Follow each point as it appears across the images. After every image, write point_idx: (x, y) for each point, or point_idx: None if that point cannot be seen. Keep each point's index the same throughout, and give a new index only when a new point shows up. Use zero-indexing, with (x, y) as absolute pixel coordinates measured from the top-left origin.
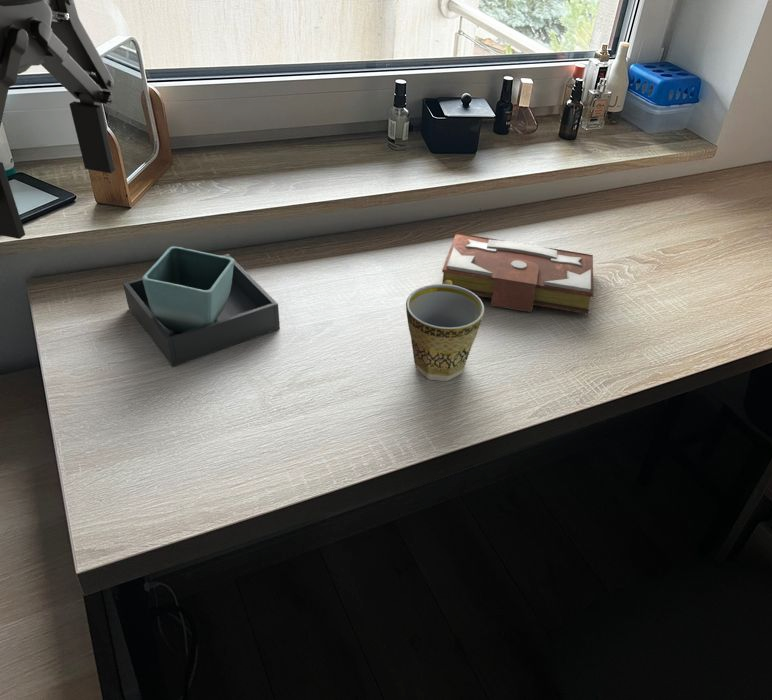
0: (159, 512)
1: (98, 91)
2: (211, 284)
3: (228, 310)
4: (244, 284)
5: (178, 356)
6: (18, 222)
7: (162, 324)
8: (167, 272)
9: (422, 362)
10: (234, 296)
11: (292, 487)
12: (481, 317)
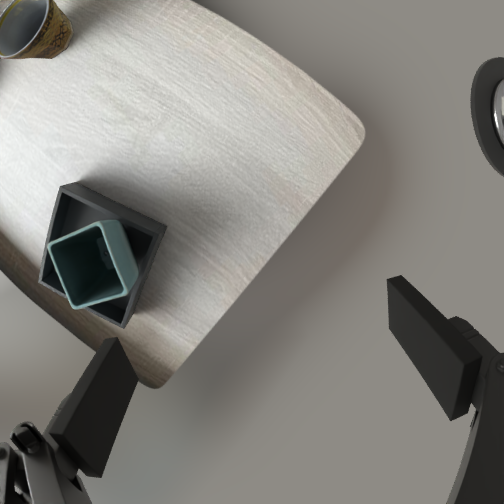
0: (310, 114)
1: (32, 458)
2: (77, 257)
3: None
4: None
5: (158, 225)
6: (404, 290)
7: None
8: (96, 294)
9: (65, 35)
10: None
11: (237, 41)
12: None
